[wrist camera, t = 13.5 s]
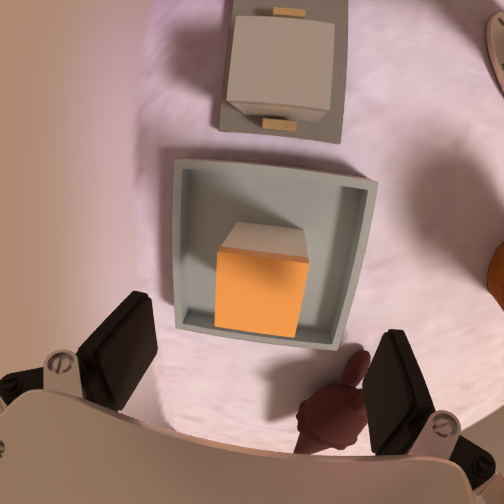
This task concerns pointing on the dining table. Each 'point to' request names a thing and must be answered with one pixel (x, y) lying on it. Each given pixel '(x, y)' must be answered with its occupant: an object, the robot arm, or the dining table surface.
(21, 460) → the robot arm
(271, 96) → the block
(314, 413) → the icecream
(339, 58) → the fuse panel
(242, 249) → the block
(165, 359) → the dining table surface
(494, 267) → the disposable coffee cup
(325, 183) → the tray
